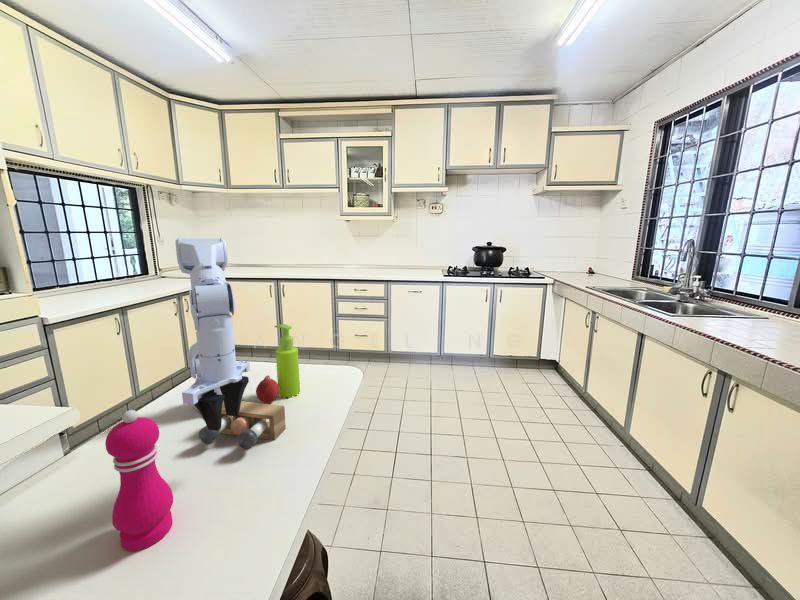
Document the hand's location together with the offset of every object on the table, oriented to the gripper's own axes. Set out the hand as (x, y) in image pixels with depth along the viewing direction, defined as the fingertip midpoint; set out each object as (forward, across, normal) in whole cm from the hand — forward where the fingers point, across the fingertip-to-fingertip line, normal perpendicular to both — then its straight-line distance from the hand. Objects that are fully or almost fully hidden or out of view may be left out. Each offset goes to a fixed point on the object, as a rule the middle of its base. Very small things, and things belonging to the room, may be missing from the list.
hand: (224, 421), depth 62 cm
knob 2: (+9, +8, 0) cm, 12 cm away
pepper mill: (+11, -14, +3) cm, 18 cm away
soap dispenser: (+11, +33, +6) cm, 35 cm away
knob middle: (+9, +12, +4) cm, 16 cm away
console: (+10, +13, +4) cm, 17 cm away
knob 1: (+9, +8, +9) cm, 15 cm away
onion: (+11, +26, +8) cm, 29 cm away
